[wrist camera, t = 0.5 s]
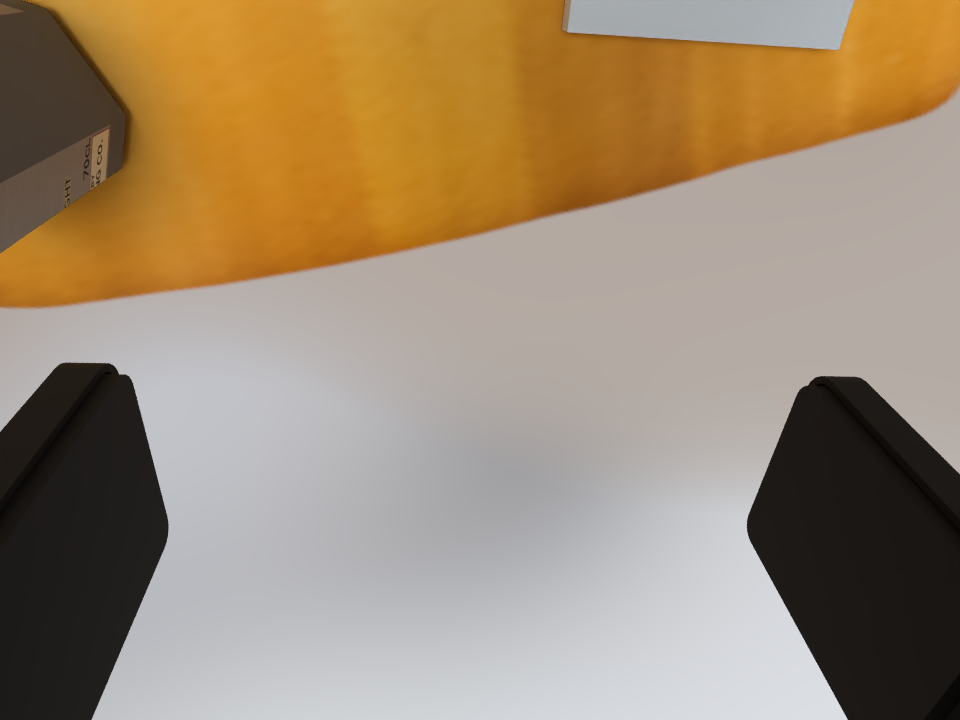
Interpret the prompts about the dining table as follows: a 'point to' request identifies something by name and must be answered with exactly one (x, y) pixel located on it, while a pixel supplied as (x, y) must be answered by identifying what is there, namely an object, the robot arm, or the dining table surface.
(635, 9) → the chopping board
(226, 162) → the dining table surface
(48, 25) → the liquor
